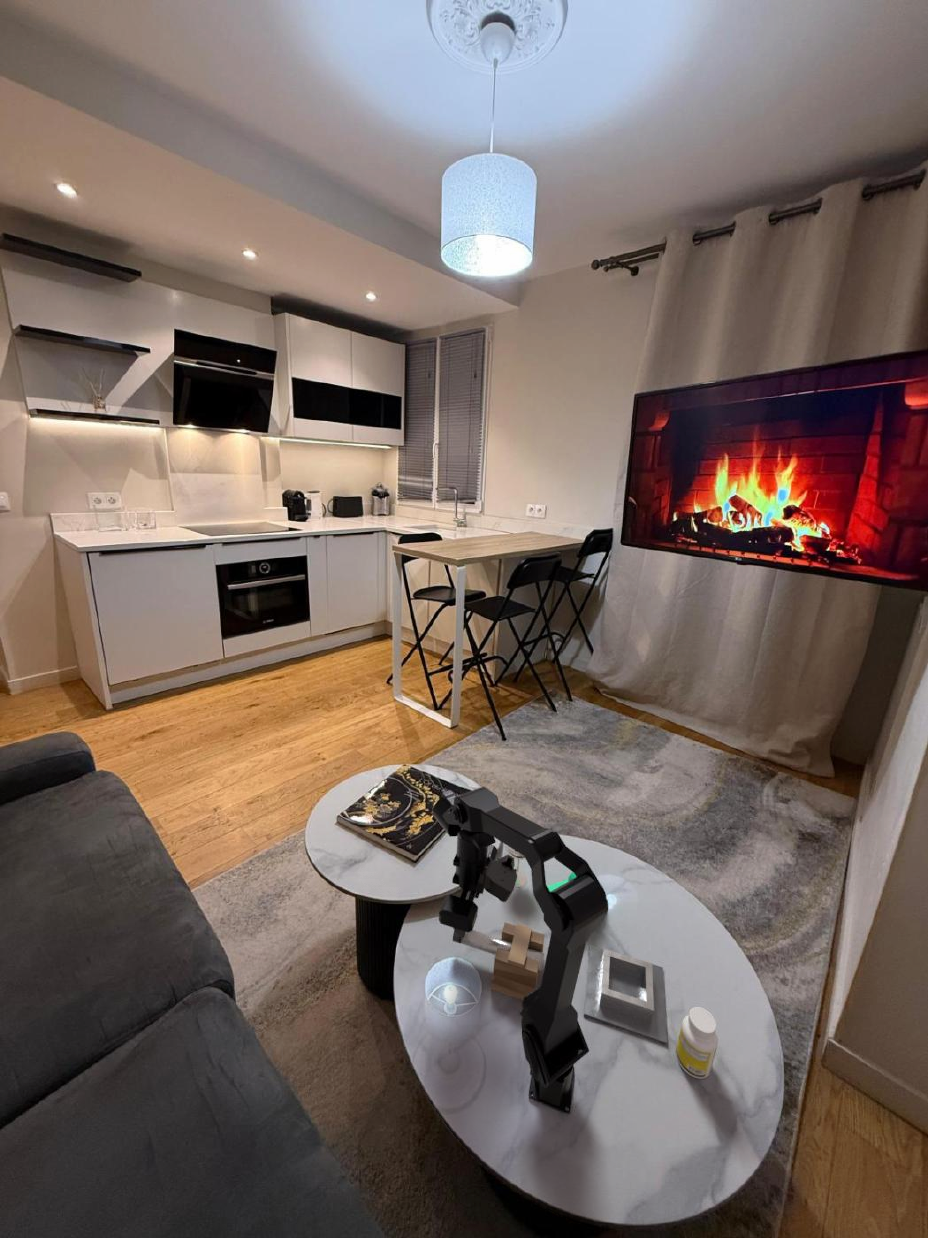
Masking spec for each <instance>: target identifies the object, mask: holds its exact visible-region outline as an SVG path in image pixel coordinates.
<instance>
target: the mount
mask: <svg viewBox="0 0 928 1238" xmlns="http://www.w3.org/2000/svg"><path fill="white" fill-rule="evenodd" d="M501 939H502V940H505V941H508V942H511V943H512V945H511V949H510V952H508V951H505V950H502V949H499V948H497V951H496V955H495V956H494V961H493V973H492V976H491V977H492V978H491V986H490V987H491V988H490V989H491V990H493V991H496V992H499V993H503V994H504V995H507V996H511V997H513V998H516V999H518V1000H522V1001H523V999H524V997H525V996H526V995H528V994H529V993H531V992H532V991H534V990H535V989H536V988H538V987H537V986H538V981H539V975H540V970H538V969H539V961H536V960H533V959H530V958H526V955H527V950H528V948H530V949H533V950H536V951H539V952H542V953H544V952H543V951H544V941H545V934H543V933H540V932H537V931H534V930H533V927H531V926H529V925H525V924H521V923H519V922H517V923H516V925H515V924H511V923H509V922H506V921H505V922H503V927H502V930H501Z"/></svg>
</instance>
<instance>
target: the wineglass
mask: <svg viewBox="0 0 928 1238" xmlns="http://www.w3.org/2000/svg"><path fill="white" fill-rule="evenodd" d="M504 845H505V846H504V847H505V849H506V851H507V855H510V856H512V857H513V858H514V860H516V868H515V869H517V873H516V874H517V880H516V883H515V887H514V888H517V887H518V888H519V887H523V886H525V885H526V884H527V883H528V877H527V875H526V873H525V872H523V871H522V870H519V869H520V863H521V862H520V861H522V860H526V859H525V857H524V856H523V855H522V854H520V853H519V852H517V851H515V850H514V849H512V848H511V847H509V846H507V845H506V844H504Z"/></svg>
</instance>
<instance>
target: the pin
mask: <svg viewBox="0 0 928 1238" xmlns="http://www.w3.org/2000/svg"><path fill="white" fill-rule="evenodd" d="M452 941H453V942H455V943H457V944H460V945H461V944H462V945H464V946H467V947H471V948H474V949H476V950H479V951H482V952H485V953H487V954H491V955H496V951H497V948H499V949H502V950H505V951H508V952H510V949H511V945H512V943H511V942H508V941H505V940H502V938H498V937H495V936H492V935H489V934H487V933H483V932H481V931H477V930H474V929H473V930H472V931H471V932H466V933H465V936H464V938H462V937H459V936H458V935H457V933H456V932H455V930H454V929H453V934H452ZM544 955H545V953H544V952H543V953H542V952H539V951H536V950H533V949H530V948H528V950H527V955H526V958H530V959H533V960H536V961H539V969H538V970H539V971H542V969H543V963H544V957H545V956H544Z"/></svg>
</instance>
